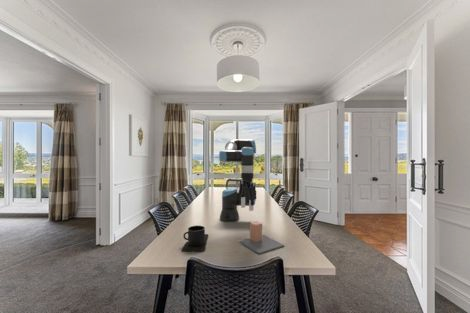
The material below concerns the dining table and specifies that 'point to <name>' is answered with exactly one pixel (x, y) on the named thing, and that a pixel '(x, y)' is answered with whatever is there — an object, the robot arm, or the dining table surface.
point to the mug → (195, 236)
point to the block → (256, 231)
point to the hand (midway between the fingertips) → (247, 208)
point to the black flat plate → (194, 249)
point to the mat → (262, 244)
